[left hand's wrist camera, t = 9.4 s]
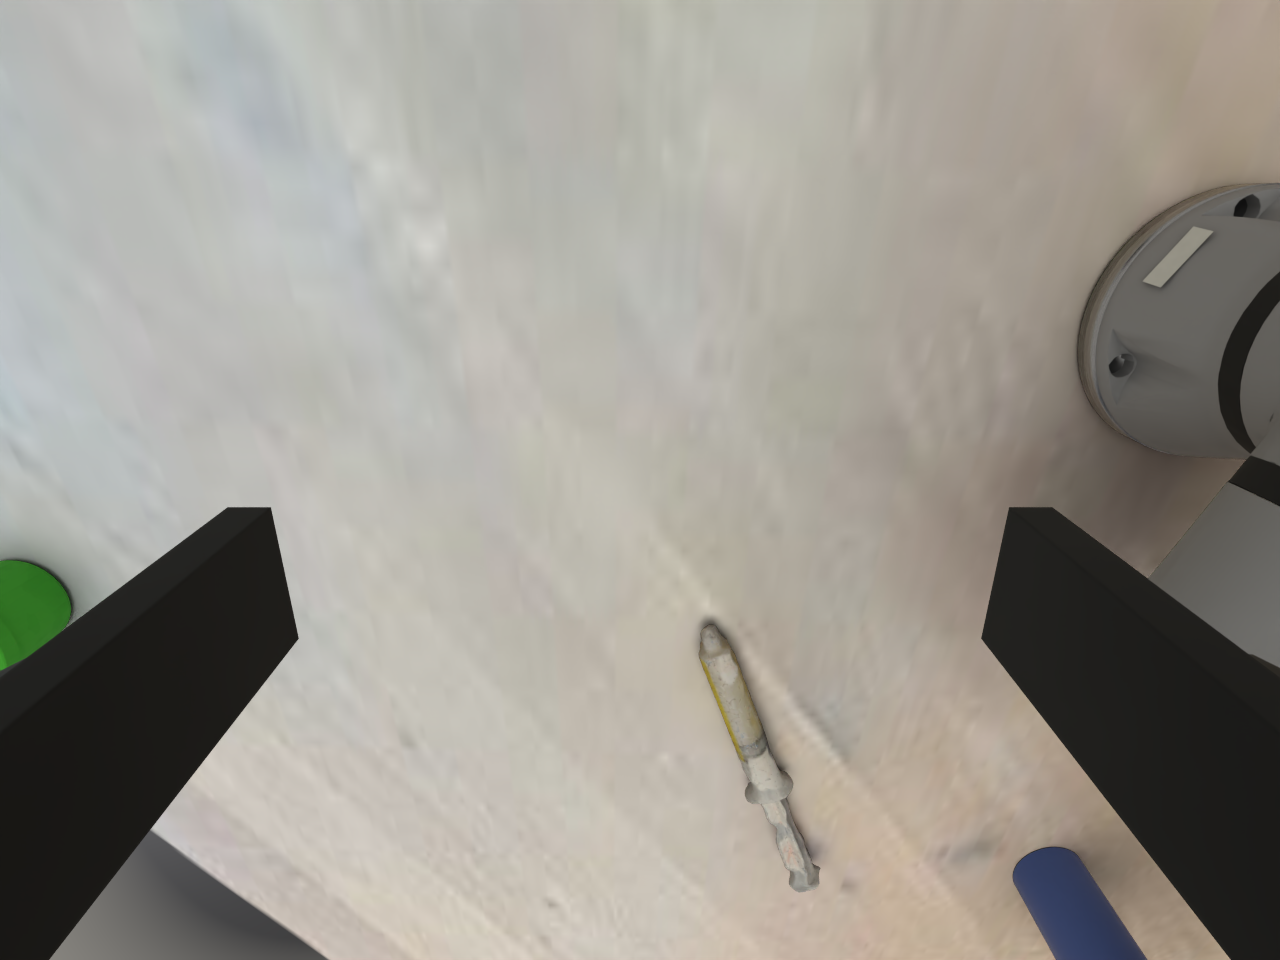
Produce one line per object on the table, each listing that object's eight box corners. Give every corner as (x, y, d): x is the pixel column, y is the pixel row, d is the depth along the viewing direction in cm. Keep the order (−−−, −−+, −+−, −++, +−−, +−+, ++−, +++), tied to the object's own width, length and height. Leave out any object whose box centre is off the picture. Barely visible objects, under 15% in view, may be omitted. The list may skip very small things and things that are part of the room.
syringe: (687, 624, 49) (689, 648, 46) (739, 610, 48) (744, 633, 46) (773, 869, 58) (779, 900, 55) (818, 859, 57) (826, 890, 55)
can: (1085, 843, 57) (1176, 976, 47) (1078, 892, 59) (1164, 1029, 49) (1015, 850, 57) (1092, 983, 47) (1010, 898, 59) (1082, 1035, 50)
